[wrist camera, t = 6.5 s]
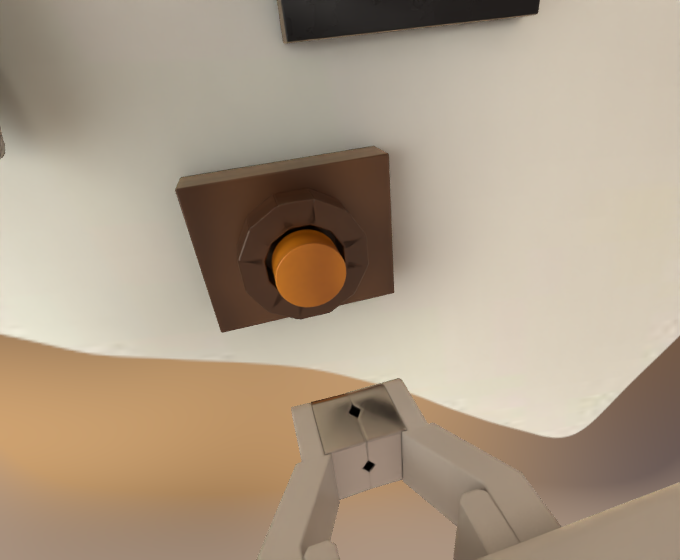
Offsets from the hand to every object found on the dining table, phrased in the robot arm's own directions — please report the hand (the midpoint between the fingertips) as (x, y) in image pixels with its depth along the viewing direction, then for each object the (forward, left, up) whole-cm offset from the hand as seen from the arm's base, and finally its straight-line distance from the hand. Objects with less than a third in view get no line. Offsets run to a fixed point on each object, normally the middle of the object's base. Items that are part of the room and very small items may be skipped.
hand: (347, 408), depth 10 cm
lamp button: (+1, 0, -9) cm, 10 cm away
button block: (+1, 0, -13) cm, 13 cm away
